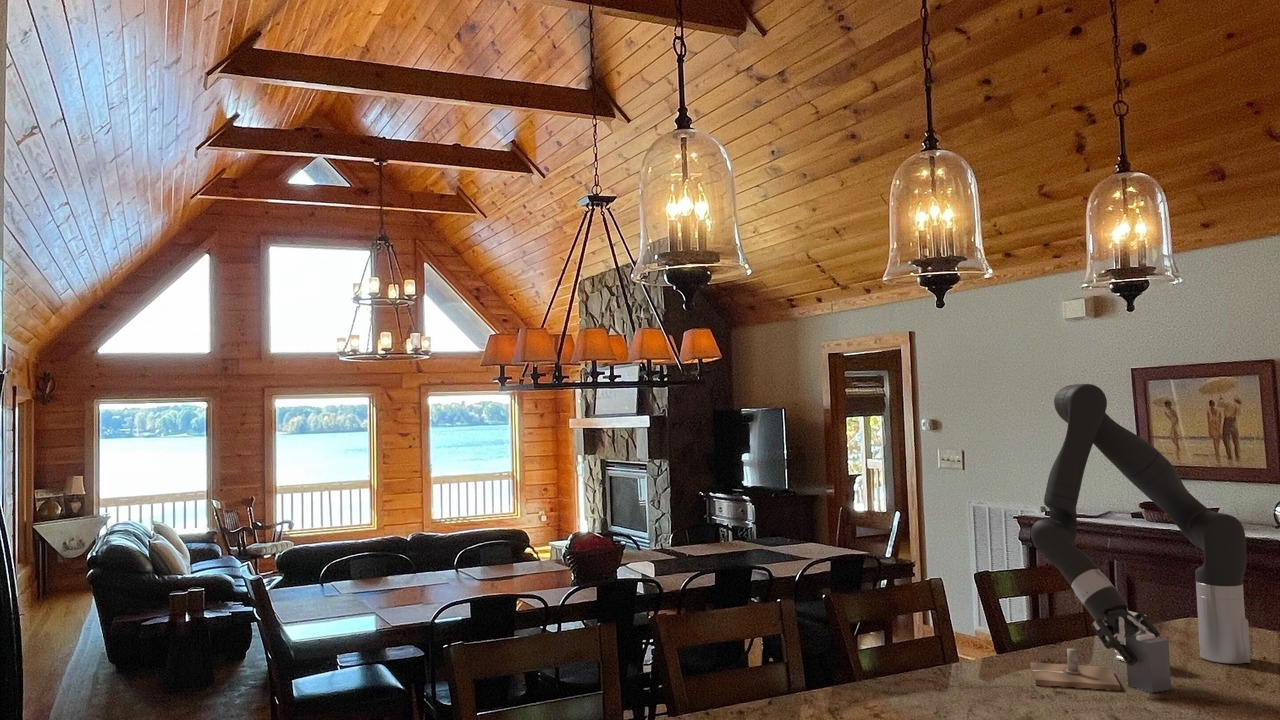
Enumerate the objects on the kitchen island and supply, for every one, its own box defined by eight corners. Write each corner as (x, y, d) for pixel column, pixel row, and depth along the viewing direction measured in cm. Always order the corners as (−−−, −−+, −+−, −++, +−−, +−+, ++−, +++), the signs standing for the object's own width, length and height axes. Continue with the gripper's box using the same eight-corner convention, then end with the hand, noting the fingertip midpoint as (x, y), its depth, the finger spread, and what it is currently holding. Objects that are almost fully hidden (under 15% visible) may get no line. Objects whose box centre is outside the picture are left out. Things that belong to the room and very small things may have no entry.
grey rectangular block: (1146, 682, 194) (1143, 630, 195) (1171, 689, 189) (1168, 635, 190) (1128, 686, 192) (1125, 633, 193) (1152, 693, 187) (1149, 639, 188)
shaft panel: (1109, 672, 202) (1108, 643, 203) (1120, 691, 189) (1118, 660, 189) (1030, 667, 207) (1029, 639, 208) (1035, 685, 194) (1034, 655, 195)
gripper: (1084, 588, 197) (1135, 655, 186) (1131, 582, 203) (1183, 646, 191) (1065, 608, 201) (1114, 675, 190) (1111, 602, 207) (1161, 666, 196)
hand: (1148, 660), depth 191 cm, fingers open, 8 cm apart
